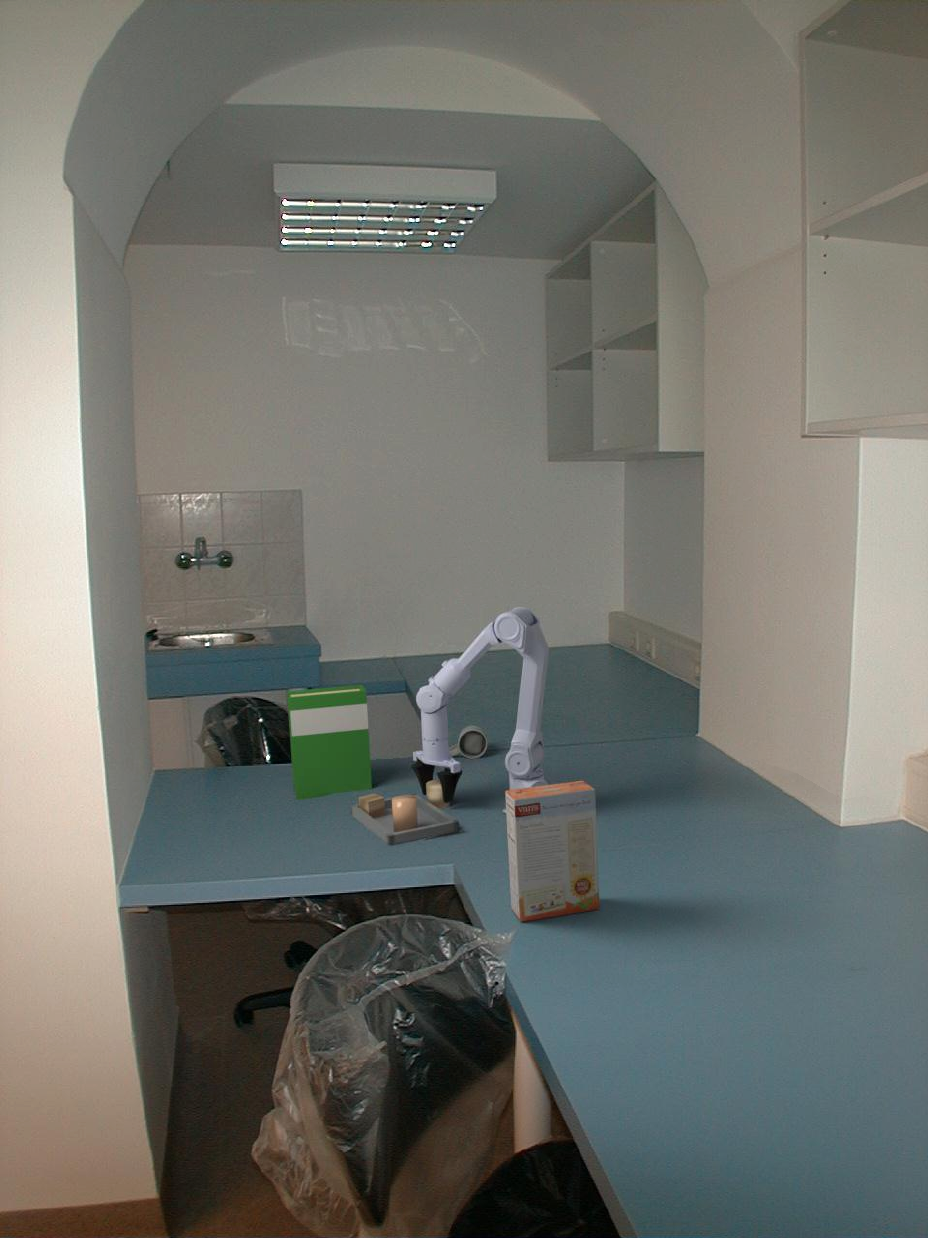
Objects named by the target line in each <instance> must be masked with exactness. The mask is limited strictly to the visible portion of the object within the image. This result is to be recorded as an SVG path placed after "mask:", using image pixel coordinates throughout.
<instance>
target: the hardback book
mask: <svg viewBox="0 0 928 1238" xmlns="http://www.w3.org/2000/svg"><path fill="white" fill-rule="evenodd" d="M286 698H287V699H286V700H287V713H288V715H287V716H288V726H289V739H290V740H289V743H290V753H291V755H290V756H291V770H292V785H293V792H295V800H296V801H298V800H299V801H300V800H307V799H316V798H320V797H325V796H328V795H332V794H339V793H340V794H341V793H350V792H358V791H359V792H360V791H365V790H366V791H367V790H372V789H373V785H372V784H373V783H372V782H373V781H372V766H371V765H372V764H371V748H370V734H369V733H370V729H369V715H368V698H367V689H366V688H365V687H364V686H363V684H356V685H346V686H343V685H342V686H334V687H324V688H322V687H321V688H312V689H311V688H310V689H302V690H289V691H286Z"/></svg>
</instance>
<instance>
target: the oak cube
mask: <svg viewBox="0 0 928 1238" xmlns="http://www.w3.org/2000/svg"><path fill="white" fill-rule="evenodd" d="M384 799H385V797H383V796H382V795H379V794H377V793H372V794H367V795H364V796H359V797H358V804H359V808H360V809H362V810H363V811H364V812H365V813H367V814H368V815H369V816H371V817H372V818H373V819H375V818H379V817H382V816H385V801H384Z"/></svg>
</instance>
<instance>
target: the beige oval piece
mask: <svg viewBox="0 0 928 1238" xmlns="http://www.w3.org/2000/svg"><path fill="white" fill-rule="evenodd" d="M426 791H427V795H426V801H428V802H429V803H431V804H433V805H434V806H436V807H437V808H439V809H440V810H442V809H446V808H448V807H450V805H451V802H448V803H445V802H444V800H443V794H442V787H441V783H440V780H439V779H433V781H429V782H427V783H426Z"/></svg>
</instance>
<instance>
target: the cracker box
mask: <svg viewBox="0 0 928 1238" xmlns="http://www.w3.org/2000/svg"><path fill="white" fill-rule="evenodd" d="M504 793H505V796H504V797H505V809H506V813H505V816H506V831H507V832H506V833H507V836H506V837H507V848H508V850H507V852H508V867H509V868H508V869H509V870H508V871H509V886H510V887H509V888H510V892H509V893H510V907H511V910H512V912H513V913H514V914H515V916H516V917H517V918H518V920H519V921H520V922H522V923H523V922H529V921H534V920H540V919H542V920H543V919H547V918H552V917H559V916H566V915H571V914H572V915H573V914H577V913H584V912H591V911H596V910H600V884H599V883H600V882H599V881H600V878H599V855H598V854H599V853H598V852H599V851H598V849H599V848H598V831H597V830H598V829H597V807H596V805H597V803H596V789H595V787H592V786H591V785H590V784H588V783H587V782H586V781H584V780H577V781H569V782H560V783H554V784H553V783H552V784H549V785H545V786H537V787H529V788H521V789H513V790H510V789H508V790H505V792H504Z"/></svg>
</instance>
